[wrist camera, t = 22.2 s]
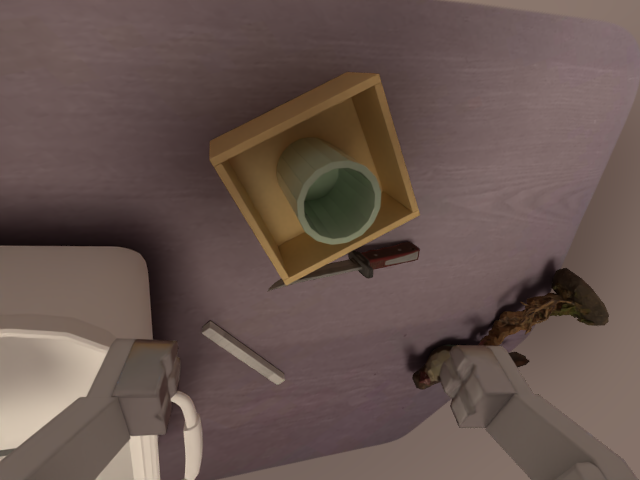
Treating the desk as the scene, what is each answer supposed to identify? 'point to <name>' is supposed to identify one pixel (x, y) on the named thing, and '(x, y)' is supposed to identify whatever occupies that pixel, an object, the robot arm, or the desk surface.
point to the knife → (363, 262)
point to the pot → (75, 343)
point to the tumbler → (328, 190)
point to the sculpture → (529, 321)
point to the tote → (334, 127)
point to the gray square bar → (242, 352)
